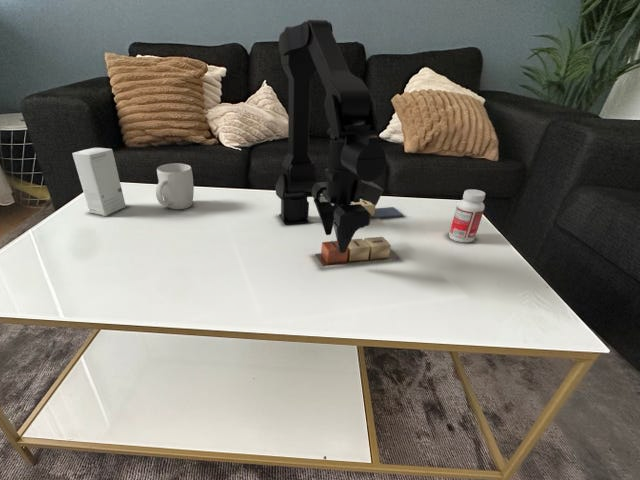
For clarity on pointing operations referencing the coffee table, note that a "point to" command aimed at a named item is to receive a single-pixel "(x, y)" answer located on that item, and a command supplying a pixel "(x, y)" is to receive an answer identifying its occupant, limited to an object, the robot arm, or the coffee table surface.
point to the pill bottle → (467, 216)
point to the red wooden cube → (333, 252)
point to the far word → (379, 210)
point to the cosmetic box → (99, 180)
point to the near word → (365, 251)
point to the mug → (175, 185)
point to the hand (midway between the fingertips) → (335, 243)
